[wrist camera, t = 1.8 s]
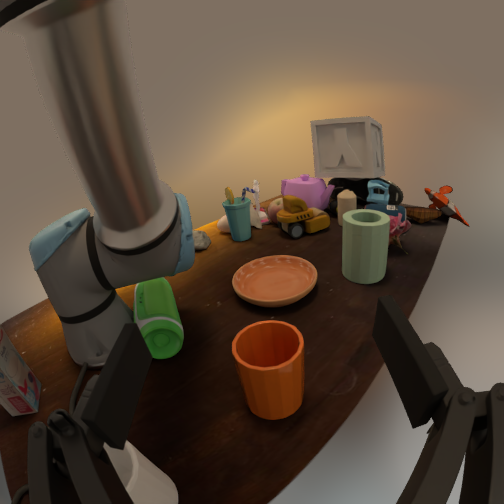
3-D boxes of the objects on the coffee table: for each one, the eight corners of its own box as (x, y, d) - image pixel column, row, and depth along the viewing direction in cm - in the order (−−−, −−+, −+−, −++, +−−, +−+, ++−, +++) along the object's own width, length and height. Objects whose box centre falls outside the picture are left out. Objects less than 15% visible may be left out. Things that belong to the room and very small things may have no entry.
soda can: (404, 236, 68) (363, 232, 73) (403, 220, 72) (365, 217, 77) (407, 216, 63) (363, 213, 69) (405, 201, 68) (365, 198, 73)
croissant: (442, 206, 65) (443, 223, 65) (439, 211, 71) (439, 227, 71) (400, 203, 72) (400, 219, 72) (400, 208, 78) (400, 224, 78)
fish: (433, 170, 67) (434, 178, 79) (413, 203, 73) (417, 206, 84) (482, 210, 58) (475, 212, 70) (461, 243, 64) (457, 240, 76)
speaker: (133, 358, 36) (180, 364, 40) (140, 320, 35) (191, 328, 38) (131, 299, 51) (166, 305, 55) (138, 267, 50) (174, 274, 53)
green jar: (386, 285, 49) (392, 226, 44) (340, 282, 52) (341, 224, 47) (383, 262, 56) (387, 209, 51) (343, 260, 60) (343, 208, 54)
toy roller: (333, 228, 75) (331, 192, 70) (287, 242, 72) (283, 203, 67) (317, 219, 83) (314, 186, 78) (274, 231, 79) (269, 196, 75)
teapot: (273, 213, 93) (268, 177, 87) (294, 203, 100) (291, 169, 95) (324, 223, 80) (322, 181, 74) (343, 211, 87) (342, 173, 82)
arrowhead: (231, 206, 81) (248, 235, 80) (236, 202, 80) (253, 231, 79) (248, 201, 87) (265, 228, 87) (253, 197, 86) (269, 225, 85)
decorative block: (336, 174, 98) (331, 123, 92) (385, 175, 87) (381, 120, 81) (315, 177, 84) (309, 116, 78) (373, 178, 73) (368, 111, 67)
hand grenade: (325, 199, 88) (338, 206, 79) (337, 196, 88) (351, 203, 79) (327, 212, 90) (340, 220, 81) (338, 208, 90) (352, 217, 81)
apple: (278, 233, 82) (265, 211, 79) (274, 223, 89) (262, 203, 85) (301, 220, 81) (290, 198, 77) (296, 212, 88) (285, 190, 84)
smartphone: (246, 224, 85) (243, 209, 98) (246, 227, 85) (243, 211, 98) (270, 221, 85) (263, 207, 98) (270, 224, 85) (264, 209, 99)
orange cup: (295, 424, 27) (293, 375, 23) (237, 412, 30) (220, 362, 25) (308, 379, 33) (309, 324, 29) (257, 371, 36) (246, 316, 31)
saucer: (258, 326, 44) (256, 312, 43) (222, 283, 57) (219, 271, 56) (334, 290, 50) (334, 277, 48) (287, 259, 63) (286, 247, 62)
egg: (244, 219, 86) (219, 224, 86) (240, 207, 81) (214, 213, 82) (246, 233, 83) (220, 238, 83) (242, 222, 78) (215, 227, 79)
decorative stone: (180, 263, 69) (176, 245, 67) (161, 253, 76) (156, 237, 74) (217, 244, 76) (213, 227, 74) (195, 237, 83) (191, 222, 81)
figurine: (244, 212, 92) (244, 177, 86) (265, 212, 93) (266, 177, 87) (246, 220, 86) (245, 183, 80) (268, 220, 86) (270, 182, 80)
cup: (271, 238, 75) (265, 184, 69) (250, 249, 71) (241, 191, 64) (238, 228, 85) (231, 180, 78) (218, 237, 81) (209, 187, 74)
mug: (138, 435, 27) (100, 390, 22) (193, 505, 18) (155, 480, 14) (91, 461, 22) (44, 420, 18) (136, 535, 14) (80, 516, 9)
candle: (338, 220, 81) (337, 188, 77) (356, 220, 79) (356, 188, 75) (337, 226, 77) (336, 193, 72) (356, 227, 75) (356, 193, 71)
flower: (363, 259, 65) (360, 220, 67) (398, 258, 64) (394, 220, 66) (380, 252, 54) (375, 206, 55) (419, 251, 53) (413, 207, 55)
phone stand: (390, 224, 73) (391, 184, 68) (363, 221, 78) (363, 182, 72) (391, 216, 79) (392, 179, 74) (367, 213, 83) (367, 177, 78)
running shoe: (399, 182, 76) (409, 179, 83) (326, 169, 97) (342, 167, 104) (396, 215, 81) (406, 209, 88) (325, 198, 101) (341, 194, 108)
